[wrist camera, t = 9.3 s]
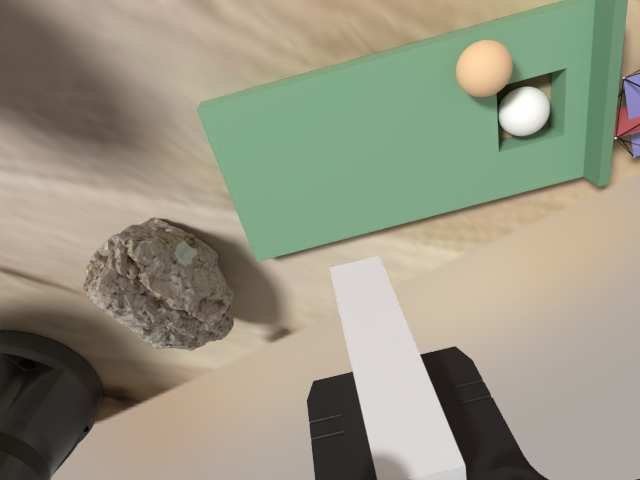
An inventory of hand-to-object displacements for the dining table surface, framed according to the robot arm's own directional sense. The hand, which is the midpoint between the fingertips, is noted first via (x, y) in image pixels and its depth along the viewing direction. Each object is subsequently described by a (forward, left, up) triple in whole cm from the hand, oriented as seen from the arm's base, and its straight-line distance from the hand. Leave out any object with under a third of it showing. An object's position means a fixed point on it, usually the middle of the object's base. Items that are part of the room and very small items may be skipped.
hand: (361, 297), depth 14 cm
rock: (-14, -9, -23) cm, 29 cm away
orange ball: (+12, 0, -19) cm, 22 cm away
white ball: (+15, -4, -21) cm, 26 cm away
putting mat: (+7, -4, -23) cm, 24 cm away
